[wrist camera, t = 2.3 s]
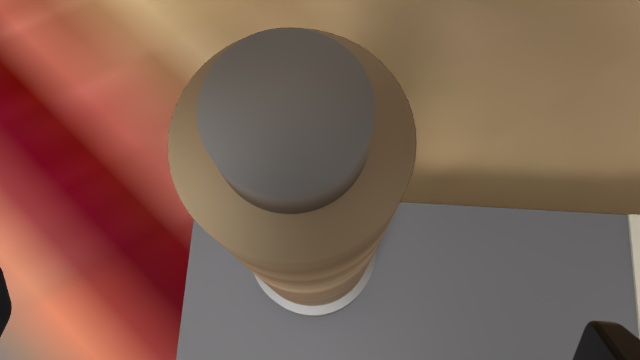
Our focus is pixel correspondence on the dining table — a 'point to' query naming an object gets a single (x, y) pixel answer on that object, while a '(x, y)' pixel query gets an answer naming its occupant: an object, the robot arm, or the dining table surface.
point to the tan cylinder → (295, 161)
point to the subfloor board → (433, 291)
